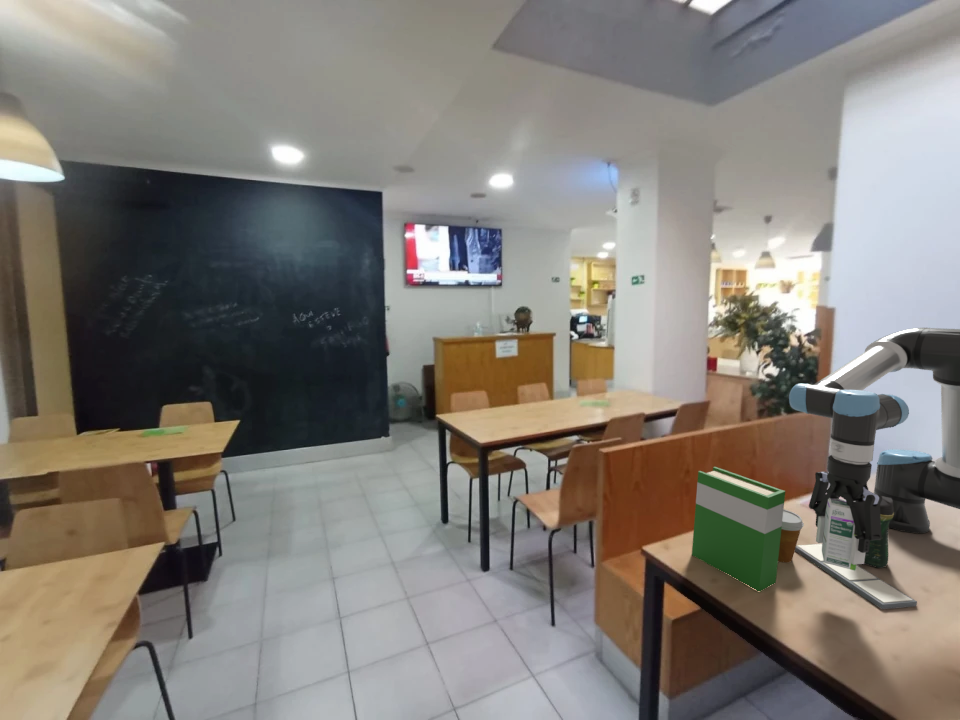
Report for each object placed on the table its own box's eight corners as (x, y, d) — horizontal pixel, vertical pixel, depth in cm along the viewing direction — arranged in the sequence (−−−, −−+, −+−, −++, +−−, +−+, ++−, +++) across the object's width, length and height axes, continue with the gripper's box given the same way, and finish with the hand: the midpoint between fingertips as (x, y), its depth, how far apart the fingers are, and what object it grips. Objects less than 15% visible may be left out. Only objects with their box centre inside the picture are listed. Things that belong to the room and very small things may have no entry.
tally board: (821, 547, 122) (822, 543, 122) (916, 606, 99) (917, 600, 98) (793, 549, 121) (793, 544, 121) (882, 609, 97) (882, 603, 97)
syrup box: (823, 563, 100) (830, 504, 98) (820, 550, 104) (827, 494, 102) (855, 571, 96) (863, 511, 94) (851, 558, 101) (858, 500, 99)
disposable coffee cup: (759, 560, 116) (763, 518, 114) (755, 543, 124) (759, 503, 123) (802, 570, 112) (807, 527, 110) (796, 552, 120) (800, 511, 118)
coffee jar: (888, 560, 116) (897, 495, 114) (885, 572, 111) (895, 504, 108) (842, 545, 123) (850, 484, 121) (837, 556, 118) (845, 492, 116)
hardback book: (691, 554, 118) (698, 471, 115) (708, 547, 122) (715, 466, 119) (758, 592, 103) (768, 497, 100) (775, 583, 106) (785, 491, 103)
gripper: (795, 444, 107) (787, 529, 110) (883, 478, 86) (869, 582, 89) (822, 442, 108) (813, 527, 111) (915, 476, 87) (901, 579, 90)
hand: (838, 551), depth 100 cm, fingers closed on syrup box, 8 cm apart
